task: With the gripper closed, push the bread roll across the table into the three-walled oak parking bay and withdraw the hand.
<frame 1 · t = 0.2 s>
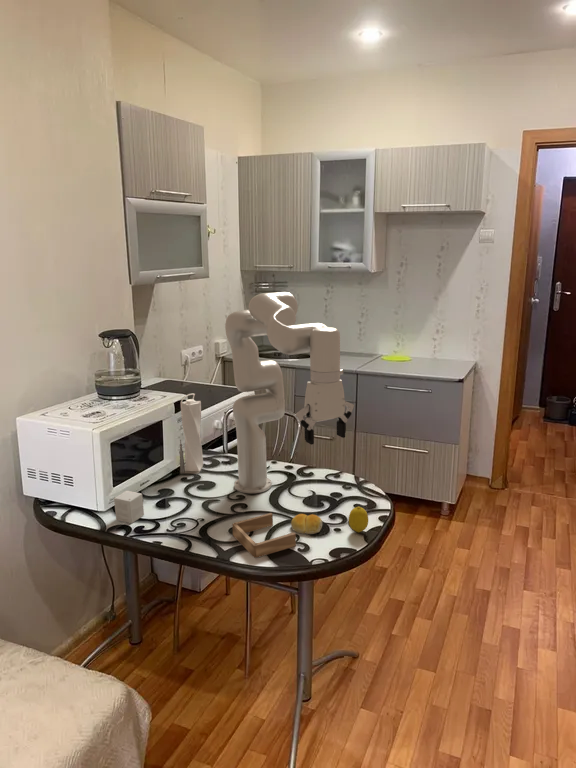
hand: (325, 439, 155), 30 cm above the table, fingers open, 9 cm apart
bay: (264, 540, 165), on the table
bread roll: (307, 528, 172), on the table
skyscraper: (193, 470, 216), on the table
product box: (130, 518, 179), on the table
lemon: (358, 533, 168), on the table
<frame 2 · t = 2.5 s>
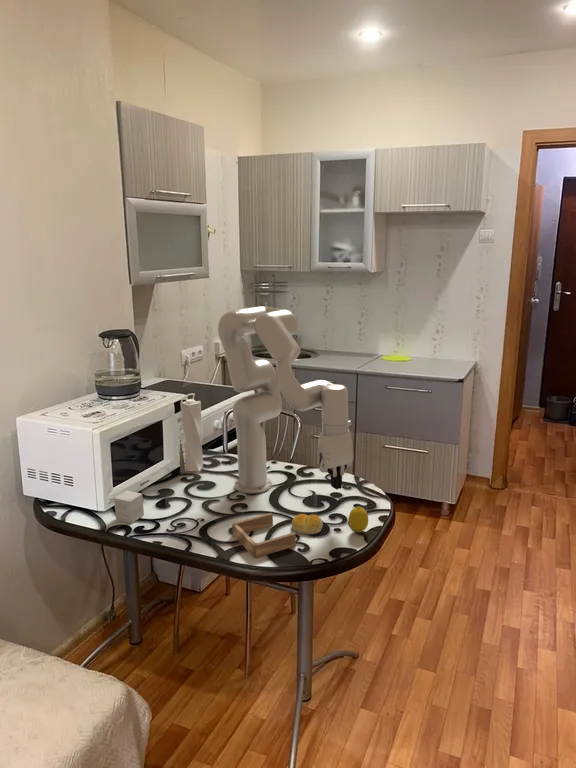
hand: (336, 487, 173), 11 cm above the table, fingers closed
nothing on the table moved.
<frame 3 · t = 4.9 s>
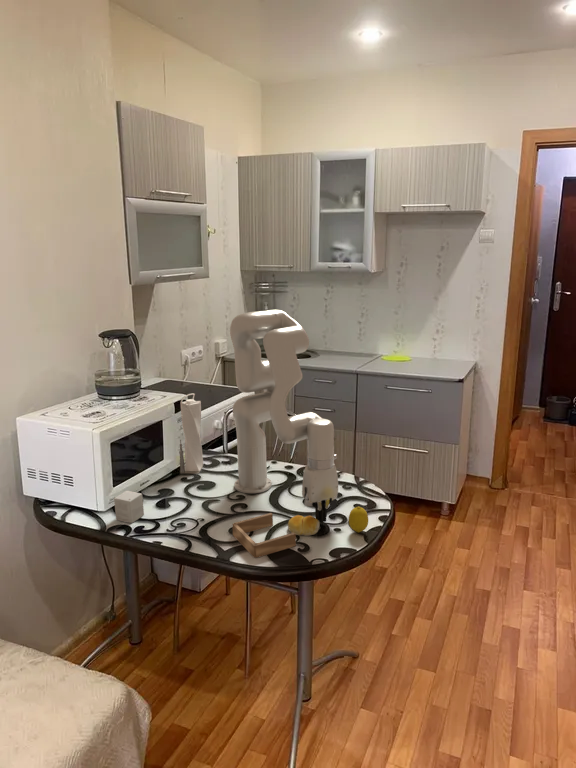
hand: (321, 520, 173), 1 cm above the table, fingers closed
bread roll: (304, 530, 171), on the table, touching gripper
everything else where it was.
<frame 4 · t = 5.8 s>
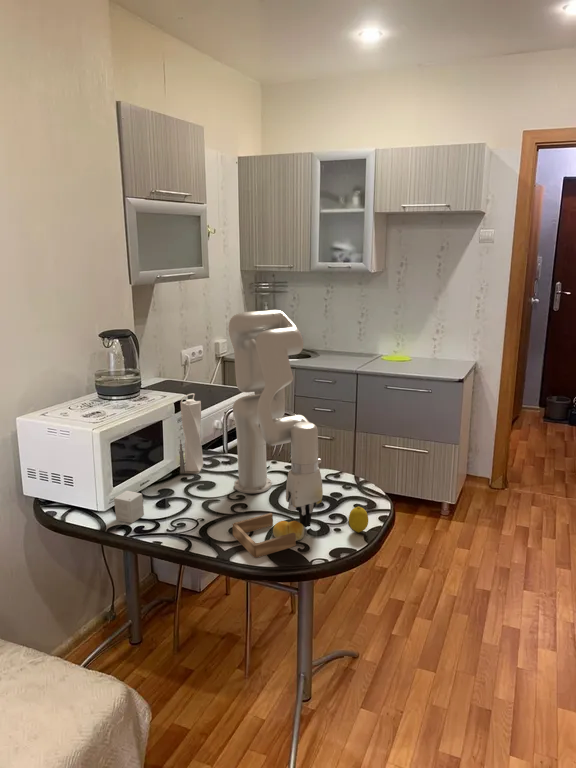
hand: (305, 524, 171), 1 cm above the table, fingers closed
bread roll: (289, 535, 168), on the table, touching gripper
everything else where it was.
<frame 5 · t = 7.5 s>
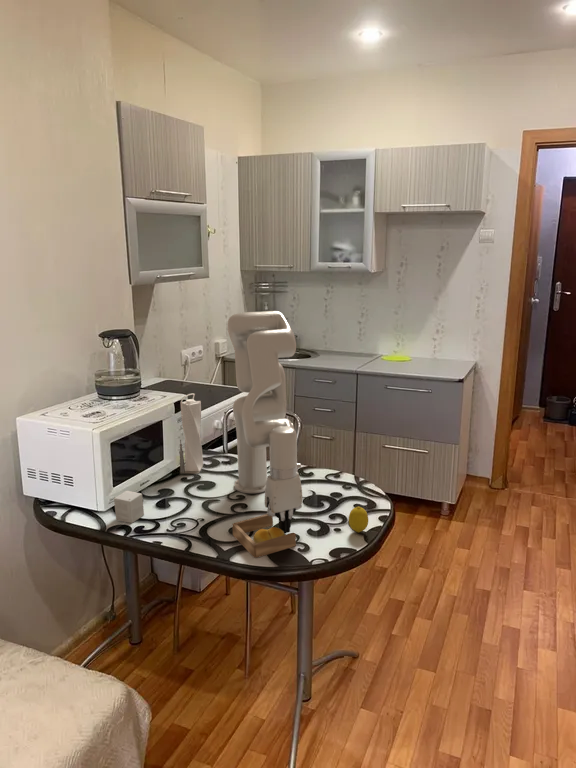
hand: (284, 530, 168), 1 cm above the table, fingers closed
bread roll: (270, 543, 164), on the table
everything else where it was.
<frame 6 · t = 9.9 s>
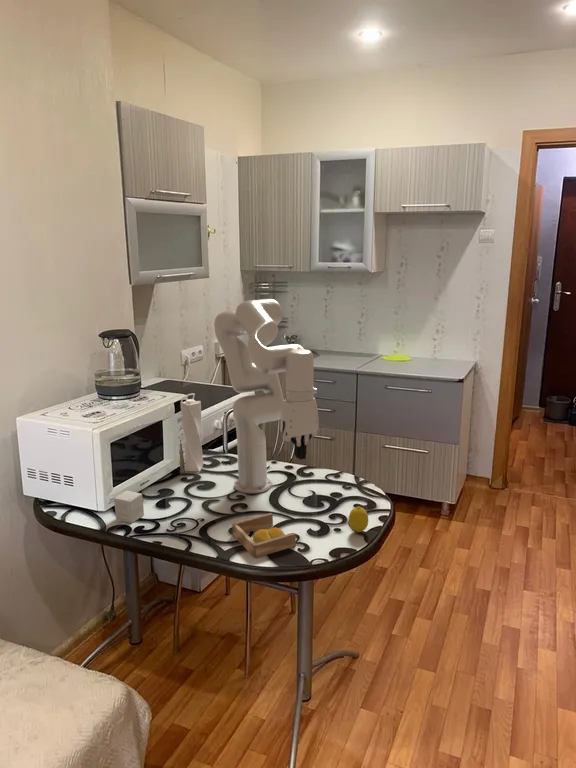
hand: (300, 457, 165), 22 cm above the table, fingers closed
nothing on the table moved.
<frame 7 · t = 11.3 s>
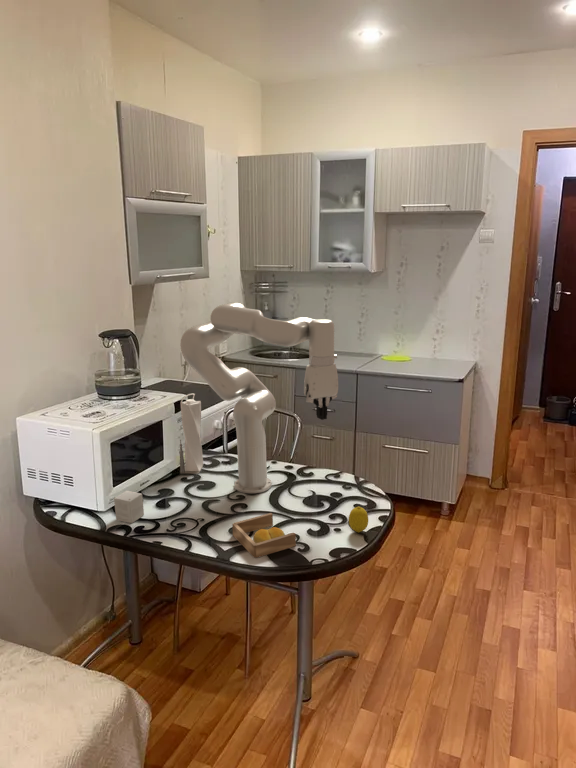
hand: (321, 418, 183), 27 cm above the table, fingers closed
nothing on the table moved.
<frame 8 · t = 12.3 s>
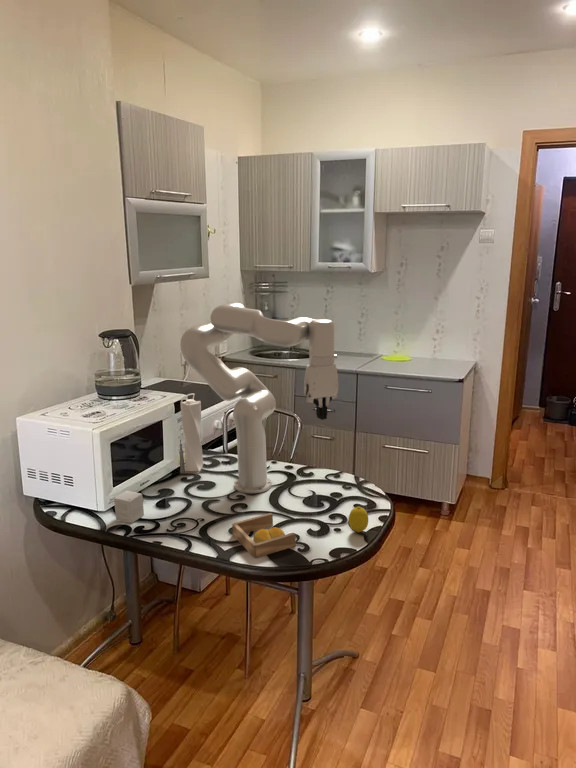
hand: (321, 418, 183), 27 cm above the table, fingers closed
nothing on the table moved.
at the end: bread roll inside the target area (1.9 cm from its centre), on the table; bread roll moved 13.1 cm from its start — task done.
